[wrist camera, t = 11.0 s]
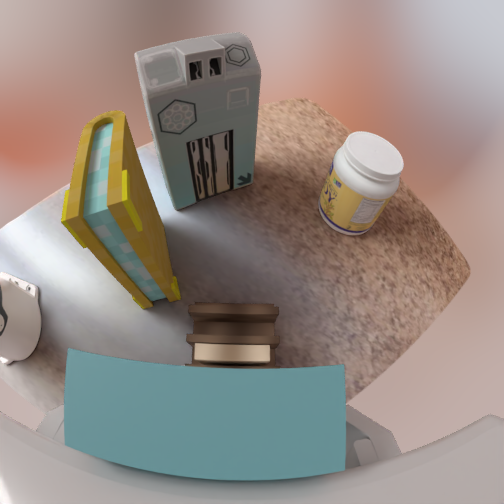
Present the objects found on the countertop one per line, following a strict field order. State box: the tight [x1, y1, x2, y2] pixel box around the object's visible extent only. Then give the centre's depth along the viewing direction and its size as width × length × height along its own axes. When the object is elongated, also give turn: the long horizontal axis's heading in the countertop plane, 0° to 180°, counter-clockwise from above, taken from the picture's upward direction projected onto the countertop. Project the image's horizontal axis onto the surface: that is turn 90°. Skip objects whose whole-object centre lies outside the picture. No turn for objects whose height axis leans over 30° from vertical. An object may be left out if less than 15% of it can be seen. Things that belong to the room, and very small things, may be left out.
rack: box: [185, 302, 280, 369], centre depth 36 cm, size 12×16×6 cm
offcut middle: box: [194, 343, 270, 366], centre depth 34 cm, size 9×2×7 cm, turn 90°
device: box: [135, 32, 261, 210], centre depth 41 cm, size 16×8×30 cm, turn 116°
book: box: [61, 111, 181, 309], centre depth 35 cm, size 17×7×25 cm, turn 18°
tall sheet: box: [64, 348, 346, 480], centre depth 12 cm, size 6×2×18 cm, turn 90°
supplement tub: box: [318, 132, 404, 235], centre depth 45 cm, size 12×12×17 cm
